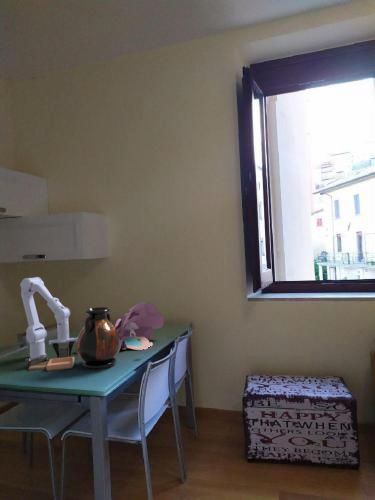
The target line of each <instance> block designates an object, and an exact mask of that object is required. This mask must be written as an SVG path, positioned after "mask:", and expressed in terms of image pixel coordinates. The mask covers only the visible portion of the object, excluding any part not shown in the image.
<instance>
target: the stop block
mask: <svg viewBox="0 0 375 500" xmlns="http://www.w3.org/2000/svg"><path fill="white" fill-rule="evenodd" d="M66 357H69V346H68V347H59V358H66Z"/></svg>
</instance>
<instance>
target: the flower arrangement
mask: <svg viewBox="0 0 375 500" xmlns="http://www.w3.org/2000/svg"><path fill="white" fill-rule="evenodd" d="M128 311H129V312H127V313H125V314H124V315H123V316H122V318H118V319H117V320H116V322H115V324H114V326H115V328H116V329H117V331H118V333H119V336H120V340H121V347H120V350H123V351H124V350H127V349H131V350H136V351H143V349H144V350H147V349H149V348H148V347H150V346H151V347H152V346H153V345H154V344H153V342H150V339H151V337H153V335H154V330H159V329H160V328H162V327H163V325H164V323H165V319H164V315H163V314H162V313H161V312H160V311H159V310H158V308H157V305H155V304H154V303H151V302H147V303H146V302H144V301H142V302H139V303H137V304H136V305H133V307H131V308H129V309H128ZM151 347H150V348H151Z"/></svg>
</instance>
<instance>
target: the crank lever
mask: <svg viewBox="0 0 375 500" xmlns="http://www.w3.org/2000/svg"><path fill="white" fill-rule="evenodd" d="M47 360H48V355H40V356H39V357H36V358H33V359H31V358H30V357H29V358H28V357H27V358H25V359H24V362H25V367H30V366H31V365H33V364H36V363H39V362H44V361H47Z"/></svg>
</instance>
